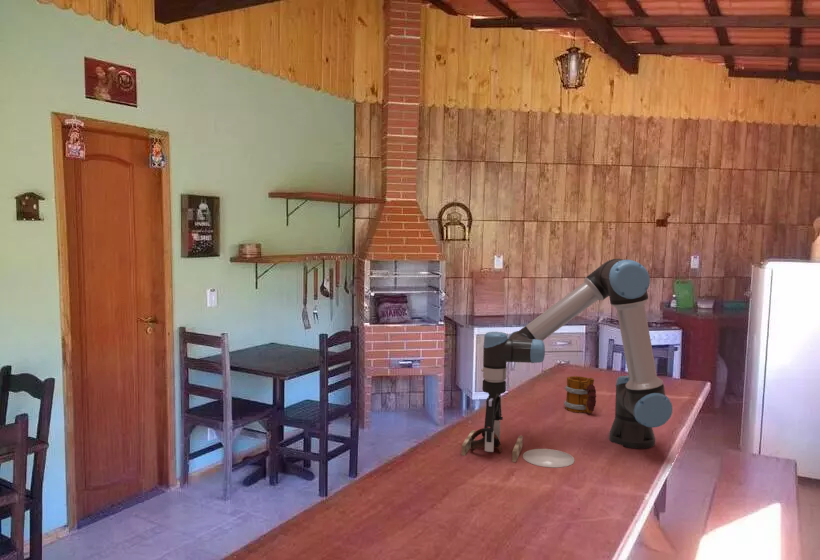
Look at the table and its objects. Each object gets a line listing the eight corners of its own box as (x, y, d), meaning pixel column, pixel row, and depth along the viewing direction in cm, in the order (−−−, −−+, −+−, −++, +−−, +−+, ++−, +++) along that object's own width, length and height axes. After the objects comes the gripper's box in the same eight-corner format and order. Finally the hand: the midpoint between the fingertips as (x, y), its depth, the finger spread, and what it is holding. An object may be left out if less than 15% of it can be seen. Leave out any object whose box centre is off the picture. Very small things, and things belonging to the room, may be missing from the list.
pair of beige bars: (471, 440, 216) (471, 430, 216) (522, 445, 211) (522, 435, 211) (461, 455, 201) (461, 445, 201) (515, 462, 196) (516, 451, 196)
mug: (581, 404, 263) (582, 369, 262) (605, 416, 247) (606, 378, 246) (559, 406, 260) (560, 371, 258) (581, 418, 244) (583, 380, 243)
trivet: (575, 452, 205) (575, 452, 205) (573, 470, 190) (573, 469, 190) (526, 447, 210) (526, 446, 210) (519, 463, 195) (519, 463, 195)
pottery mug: (503, 457, 200) (492, 437, 199) (477, 467, 203) (465, 447, 201) (504, 436, 212) (493, 417, 210) (479, 446, 214) (468, 427, 213)
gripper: (489, 371, 217) (487, 433, 218) (475, 386, 194) (473, 455, 195) (511, 373, 214) (509, 435, 216) (499, 389, 192) (497, 458, 193)
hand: (492, 445), depth 206 cm, fingers closed on pottery mug, 12 cm apart
